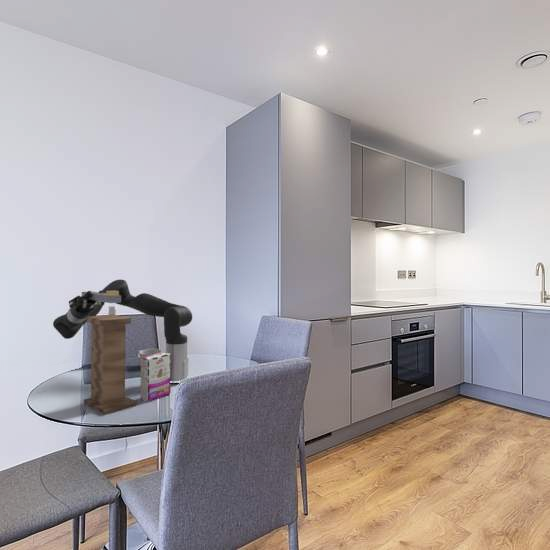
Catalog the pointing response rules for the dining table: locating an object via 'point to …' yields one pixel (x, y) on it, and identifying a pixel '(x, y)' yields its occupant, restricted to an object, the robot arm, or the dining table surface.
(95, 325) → the stand
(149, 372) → the candy bar box
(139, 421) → the dining table surface
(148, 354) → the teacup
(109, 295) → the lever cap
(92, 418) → the dining table surface
